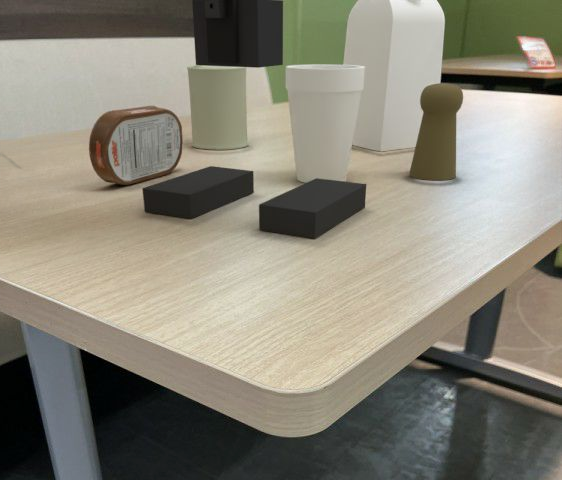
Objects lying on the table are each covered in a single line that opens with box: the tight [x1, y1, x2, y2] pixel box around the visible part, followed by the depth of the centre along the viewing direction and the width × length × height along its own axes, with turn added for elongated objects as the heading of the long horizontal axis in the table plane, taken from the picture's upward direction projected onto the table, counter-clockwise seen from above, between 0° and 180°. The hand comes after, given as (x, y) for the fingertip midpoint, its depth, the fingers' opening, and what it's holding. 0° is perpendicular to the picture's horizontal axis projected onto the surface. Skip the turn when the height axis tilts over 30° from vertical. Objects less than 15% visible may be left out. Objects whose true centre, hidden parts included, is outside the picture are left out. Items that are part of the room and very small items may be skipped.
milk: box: [342, 0, 446, 152], centre depth 98 cm, size 12×12×26 cm
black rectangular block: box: [191, 0, 284, 69], centre depth 55 cm, size 6×4×5 cm
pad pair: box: [141, 165, 367, 240], centre depth 67 cm, size 20×13×2 cm, turn 62°
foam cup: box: [285, 63, 365, 184], centre depth 77 cm, size 10×9×13 cm
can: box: [186, 64, 249, 151], centre depth 99 cm, size 9×9×12 cm
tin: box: [88, 105, 184, 186], centre depth 78 cm, size 15×3×8 cm, turn 150°
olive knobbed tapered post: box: [409, 82, 464, 181], centre depth 80 cm, size 6×6×11 cm
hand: (239, 60), depth 56 cm, fingers closed on black rectangular block, 4 cm apart
